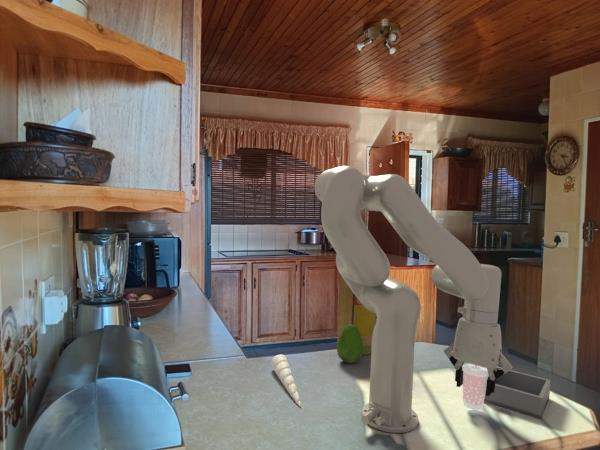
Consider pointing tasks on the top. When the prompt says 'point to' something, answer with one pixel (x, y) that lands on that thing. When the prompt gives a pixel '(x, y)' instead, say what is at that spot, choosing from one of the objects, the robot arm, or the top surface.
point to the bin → (520, 393)
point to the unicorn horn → (285, 376)
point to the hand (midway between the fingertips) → (474, 389)
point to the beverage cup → (474, 386)
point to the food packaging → (355, 316)
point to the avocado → (349, 344)
